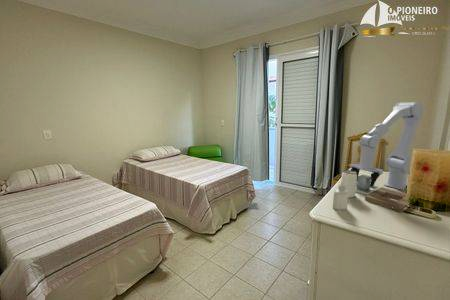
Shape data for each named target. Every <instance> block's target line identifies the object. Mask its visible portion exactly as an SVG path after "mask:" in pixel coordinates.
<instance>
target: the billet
mask: <svg viewBox="0 0 450 300" xmlns="http://www.w3.org/2000/svg"><path fill="white" fill-rule="evenodd" d="M370 184H371V175H366V174H360V175H358V181H357V185H356V189H357V190H361V191H364V192H367V191H369V190H370V188H371V187H370Z"/></svg>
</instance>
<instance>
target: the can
mask: <svg viewBox="0 0 450 300" xmlns="http://www.w3.org/2000/svg"><path fill="white" fill-rule="evenodd" d="M341 182H343V184H344V185H345V190H346V191H348V199H349V198H355V196H356V193H357V192H356V189H357V185H356V183H357V182H358V181H357V174H356V172H355V171H351V169H344V170H343V171H342V173H341V179H340V183H341Z"/></svg>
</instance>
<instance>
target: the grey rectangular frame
mask: <svg viewBox="0 0 450 300" xmlns="http://www.w3.org/2000/svg"><path fill="white" fill-rule="evenodd" d="M356 186H357V183H356ZM370 188H373V189H372V190H370V191H369V192H367V191H361V190H358V189H357V188H356V192H355V193H359V194H361V195H365V196H366V195H368V194H370V193H372V192H374V191H376V190H378V189H380V188H382V187H381V186H378V185H375V184H374V186H373V187H371V186H370Z"/></svg>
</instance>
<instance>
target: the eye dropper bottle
mask: <svg viewBox="0 0 450 300" xmlns="http://www.w3.org/2000/svg"><path fill="white" fill-rule="evenodd" d="M332 198H333V200H332V201H333V202H332V208H333V209H335V210H337V211H345V210H347V209H348V203H349V198H348V191H346V190H345V185H344V184H343V182H341V181H340V183H339V184H338V188H337V189H335V190H334V192H333V197H332Z"/></svg>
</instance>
